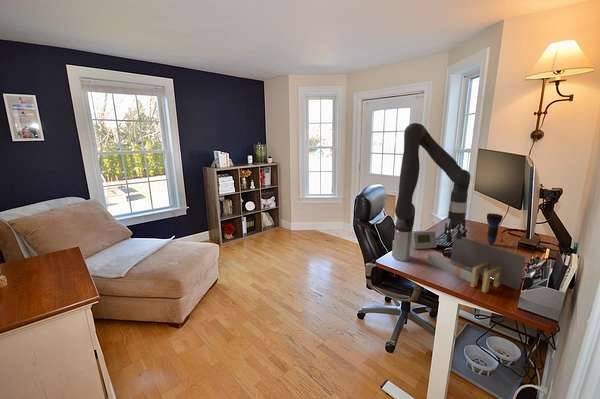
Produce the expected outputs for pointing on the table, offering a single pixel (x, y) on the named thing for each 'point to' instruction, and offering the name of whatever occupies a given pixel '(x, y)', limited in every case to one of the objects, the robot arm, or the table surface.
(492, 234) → the flashlight
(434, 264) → the grey slab
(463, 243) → the firebox panel
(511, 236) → the table surface
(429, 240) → the digital clock
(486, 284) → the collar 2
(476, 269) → the beige arch
